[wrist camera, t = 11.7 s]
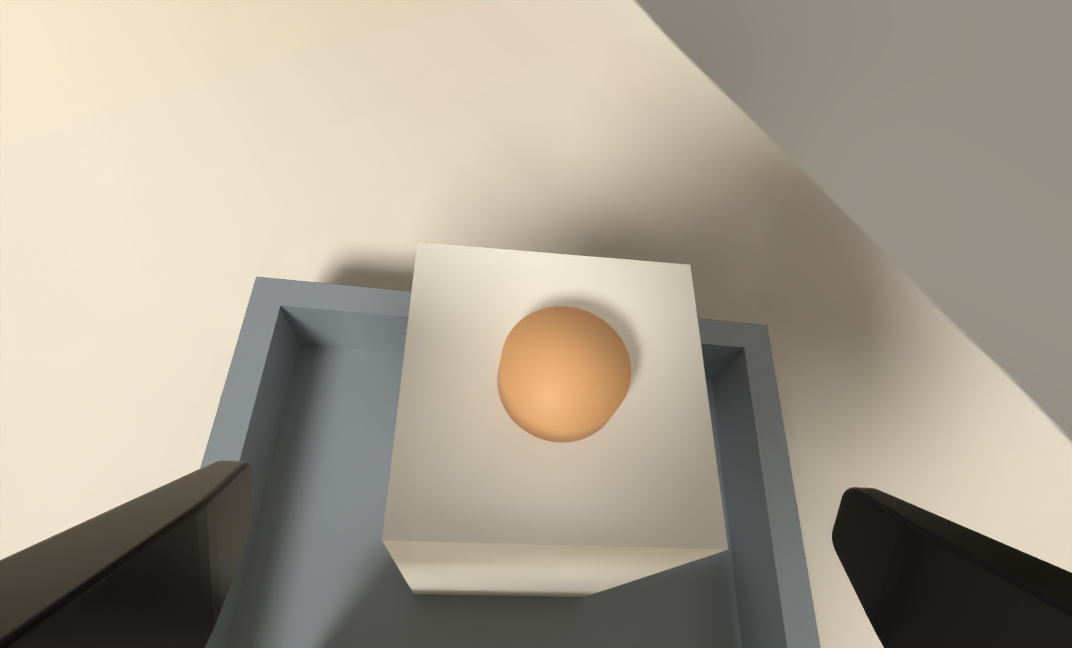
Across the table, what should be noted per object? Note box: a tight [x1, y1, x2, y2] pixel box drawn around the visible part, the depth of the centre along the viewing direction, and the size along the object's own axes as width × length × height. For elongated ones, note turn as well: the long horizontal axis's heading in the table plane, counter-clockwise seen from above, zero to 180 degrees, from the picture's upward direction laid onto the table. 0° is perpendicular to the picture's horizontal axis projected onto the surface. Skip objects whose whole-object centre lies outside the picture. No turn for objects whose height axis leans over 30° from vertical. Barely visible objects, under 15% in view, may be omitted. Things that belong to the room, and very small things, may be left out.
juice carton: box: [382, 242, 728, 597], centre depth 16 cm, size 6×6×12 cm
